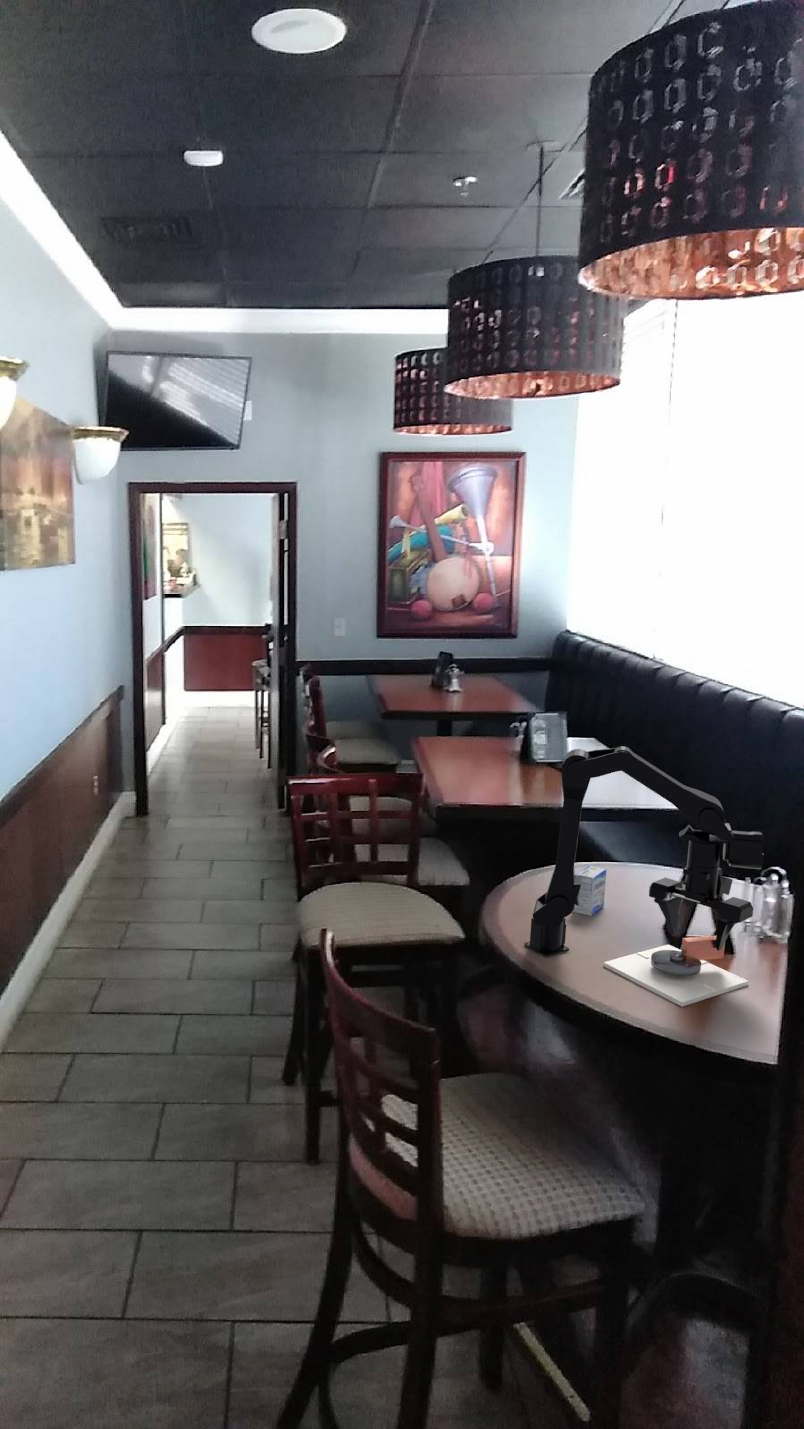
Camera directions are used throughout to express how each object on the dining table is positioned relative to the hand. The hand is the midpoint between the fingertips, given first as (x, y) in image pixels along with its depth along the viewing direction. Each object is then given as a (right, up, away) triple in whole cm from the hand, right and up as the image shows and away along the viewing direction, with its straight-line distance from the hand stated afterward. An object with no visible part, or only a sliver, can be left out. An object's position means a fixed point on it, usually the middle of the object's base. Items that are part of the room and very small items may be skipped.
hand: (696, 942), depth 190 cm
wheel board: (-5, -5, -3) cm, 8 cm away
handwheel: (-2, -4, -3) cm, 5 cm away
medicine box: (-15, 0, +29) cm, 33 cm away
